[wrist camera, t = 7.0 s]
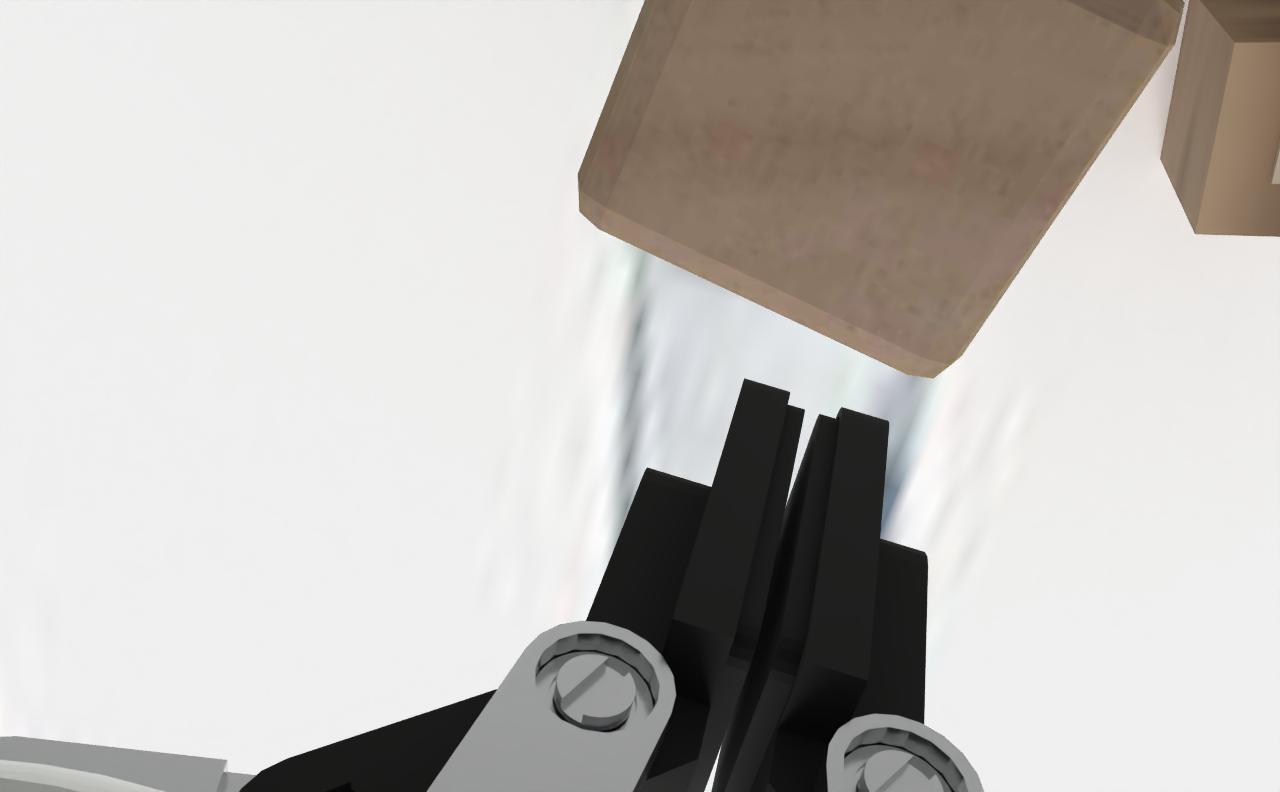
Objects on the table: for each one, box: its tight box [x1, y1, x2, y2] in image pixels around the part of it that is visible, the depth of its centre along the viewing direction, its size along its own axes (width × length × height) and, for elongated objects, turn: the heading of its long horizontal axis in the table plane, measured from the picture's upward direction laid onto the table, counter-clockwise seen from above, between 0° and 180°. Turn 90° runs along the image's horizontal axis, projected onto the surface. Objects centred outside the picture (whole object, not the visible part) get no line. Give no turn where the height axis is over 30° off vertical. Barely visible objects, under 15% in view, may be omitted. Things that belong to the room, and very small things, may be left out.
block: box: [578, 0, 1184, 378], centre depth 32 cm, size 10×10×20 cm
